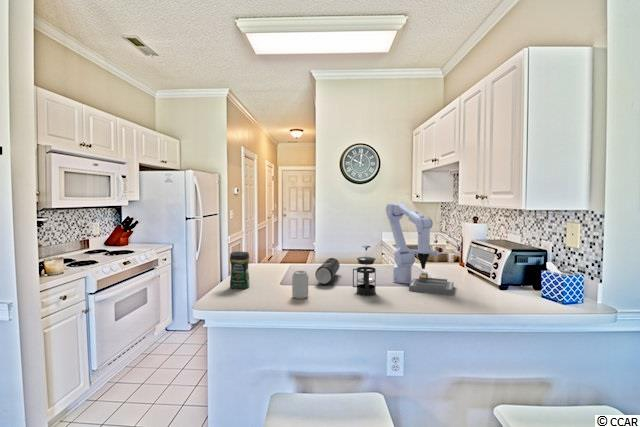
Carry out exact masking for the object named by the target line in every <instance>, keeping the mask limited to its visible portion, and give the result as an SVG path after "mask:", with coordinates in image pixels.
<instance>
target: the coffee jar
mask: <svg viewBox="0 0 640 427" xmlns="http://www.w3.org/2000/svg"><path fill="white" fill-rule="evenodd" d="M229 262H230V278H229V280H230V281H229V287H230V288H231V289H233V288H236V289H237V290H245V289H248V288H249V287H250V282H251V281H250V274H249V262H250V254H249V252H248V251H232V252H231V253H230V254H229ZM244 288H245V289H244Z"/></svg>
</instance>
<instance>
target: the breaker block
mask: <svg viewBox="0 0 640 427" xmlns="http://www.w3.org/2000/svg"><path fill="white" fill-rule="evenodd" d="M420 275H426V283H422V282H419V278H413V279H411V280H412V282H411V283H410V284H409V285H408V291H409V292H415V291H418V293H425V292H429V293H428V294H434V293H437V295H444V294H445V296H453V292H454V286H455V285H454V281H448V279H447V278H440V277H439V278H436V277H429V273H428V272H426V271H425V272H424V271H421V272H420Z"/></svg>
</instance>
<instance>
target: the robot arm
mask: <svg viewBox="0 0 640 427" xmlns="http://www.w3.org/2000/svg"><path fill="white" fill-rule="evenodd" d="M385 213H386V216H387V219H388V221H389V225H390V228H391V232H392V236H393V239H394V242H395V246H396V250H395V251H394V253H393V254H394V262H395V264H394V265H393V276H392V277H393V278H392V283H399V284H409V285H410V283H411V282H412V280H413V279H412V270H413V269H412V266H413V265H414V264H415V262H416V257H415V254H416V255H417V258H418V260H419V263H420V266H421V270H425V269H426V264H427V261H428V259H429V257H430V255H431V256H440V250H430V243H431V242H430V240H431V234H430V233H431V229H432V228H433V219H431V217H429V216H427V217H425V216H424V214H421V213H420V212H419V211H418V210H412V209H410V208H409V207H408V206H407V204H406V203H405V202H388V203H387V204H386V207H385ZM404 215H405V216H406V217H408V220H409V221H410V222H411V223H413V224H414V225H415V228H416V233H417V249H413V248H412V249H411V248H410V247H408V246H407V243H406V239H405V236H404V234H403V230H402V227H401V226H402V225H401V222H400V220H402V219H403V217H404Z"/></svg>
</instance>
